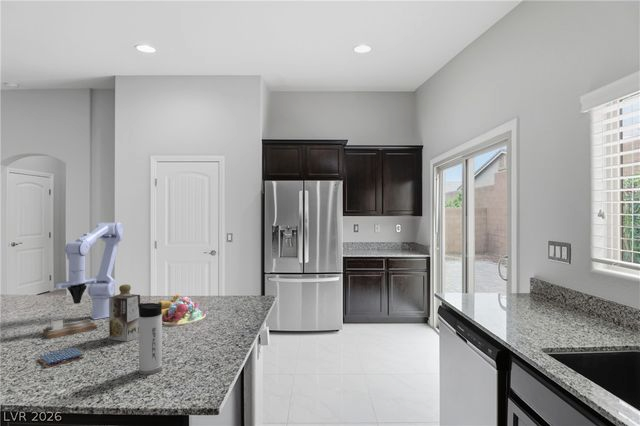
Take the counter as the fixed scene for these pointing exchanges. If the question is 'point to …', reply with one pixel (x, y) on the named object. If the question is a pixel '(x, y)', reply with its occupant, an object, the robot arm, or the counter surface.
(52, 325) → the fader knob
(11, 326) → the counter surface
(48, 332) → the fader board
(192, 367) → the counter surface
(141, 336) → the travel mug
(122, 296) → the coffee box
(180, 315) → the candy landscape model
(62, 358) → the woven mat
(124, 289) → the cork
